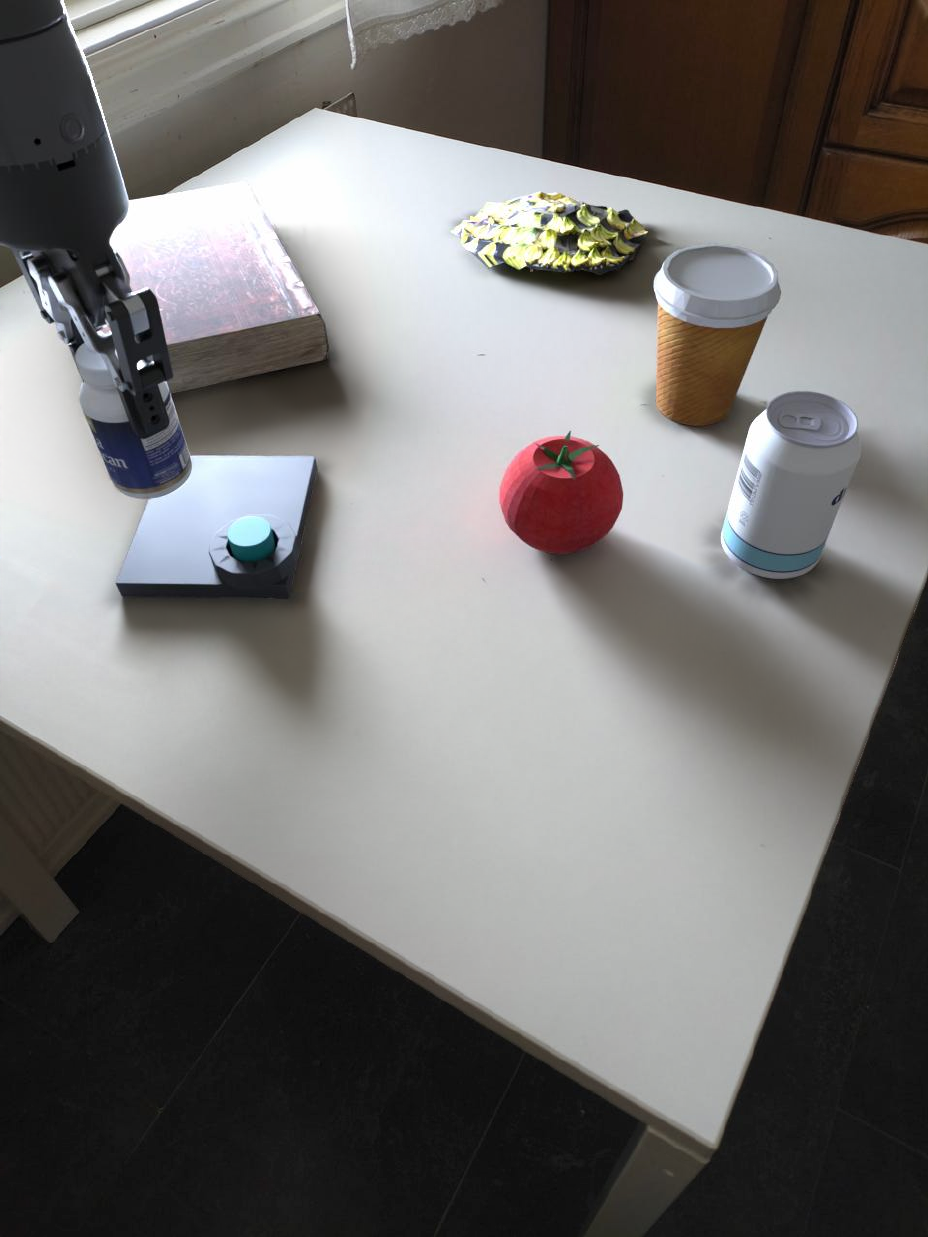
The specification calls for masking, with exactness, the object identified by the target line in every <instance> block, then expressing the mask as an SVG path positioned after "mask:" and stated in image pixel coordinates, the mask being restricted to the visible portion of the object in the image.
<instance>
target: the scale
mask: <svg viewBox="0 0 928 1237" xmlns="http://www.w3.org/2000/svg"><path fill="white" fill-rule="evenodd" d="M190 458H191V462H192V471H191V474H190V476H189V478H188V479H187V481H186V482H185V483H184V484H183V485H182V486H181V487H179V488H178V489H176V490H175V491H173V492H171V493H169V494H167V495H165V496H161V497H157V498H152V499H147V503H146V505H145V508H144V509H143V512H142V515H141V518H140V521H139V523H138V525H137V528H136V530H135V533H134V535H133V538H132V541H131V543H130V546H129V548H128V550H127V551H128V552H127V554H126V556H125V559H124V561H123V563H122V566H121V569H120V571H119V574H118V576H117V579H116V581H115V585H116V588H117V591H118V592H119V594H120V596H121V597H122V598H193V599H195V598H198V599H199V598H200V599H205V598H206V599H214V598H215V599H265V600H266V599H267V600H269V599H274V600H275V599H276V600H279V599H280V600H281V599H282V600H290V598H291V593H292V588H293V584H294V579H295V575H296V570H297V567H298V566H297V565H298V561H299V557H300V552H301V547H302V544H303V538H304V533H305V529H306V525H307V520H308V515H309V511H310V507H311V501H312V498H313V492H314V489H315V484H316V479H317V474H318V470H319V468H318V464H317V458H316V456H315V455H313V456H312V455H307V456H305V455H191V454H190ZM246 517H260V518H263V519H265V520H266V521H267V522H268V523H269V524H270V526H271V529H272V533H273V537H274V541H275V548H274V550H273V552H272V553H271V554H270V555H269V556H268V557H266V558H264V559H261V560H258V561H256V562H243V561H240V560H238V559H237V558H235V556H234V555H233V553H232V550H231V547H230V544H229V540H228V537H227V533H228V530H229V528H230V526H231V525H232V524H233V523H235V522H236V521H238V520H240V519H242V518H246Z"/></svg>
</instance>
